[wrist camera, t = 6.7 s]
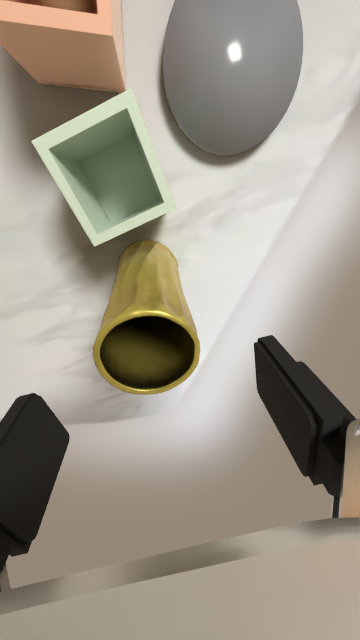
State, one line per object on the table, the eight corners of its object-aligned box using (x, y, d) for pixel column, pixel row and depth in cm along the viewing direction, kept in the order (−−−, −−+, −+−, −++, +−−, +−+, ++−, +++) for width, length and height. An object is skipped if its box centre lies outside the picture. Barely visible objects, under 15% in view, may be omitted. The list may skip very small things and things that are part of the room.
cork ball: (38, -12, 14) (12, -60, 11) (86, -24, 14) (72, -75, 11) (61, 59, 15) (44, 31, 12) (105, 48, 15) (96, 18, 12)
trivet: (145, -17, 14) (145, -31, 13) (298, -56, 14) (308, -73, 13) (179, 168, 19) (180, 167, 18) (292, 139, 19) (299, 137, 18)
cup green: (70, 158, 18) (30, 140, 12) (137, 124, 18) (131, 87, 12) (110, 231, 21) (94, 246, 15) (168, 203, 21) (176, 208, 14)
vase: (189, 262, 23) (234, 339, 11) (157, 307, 26) (165, 414, 13) (138, 226, 21) (122, 273, 9) (107, 279, 23) (61, 376, 11)
